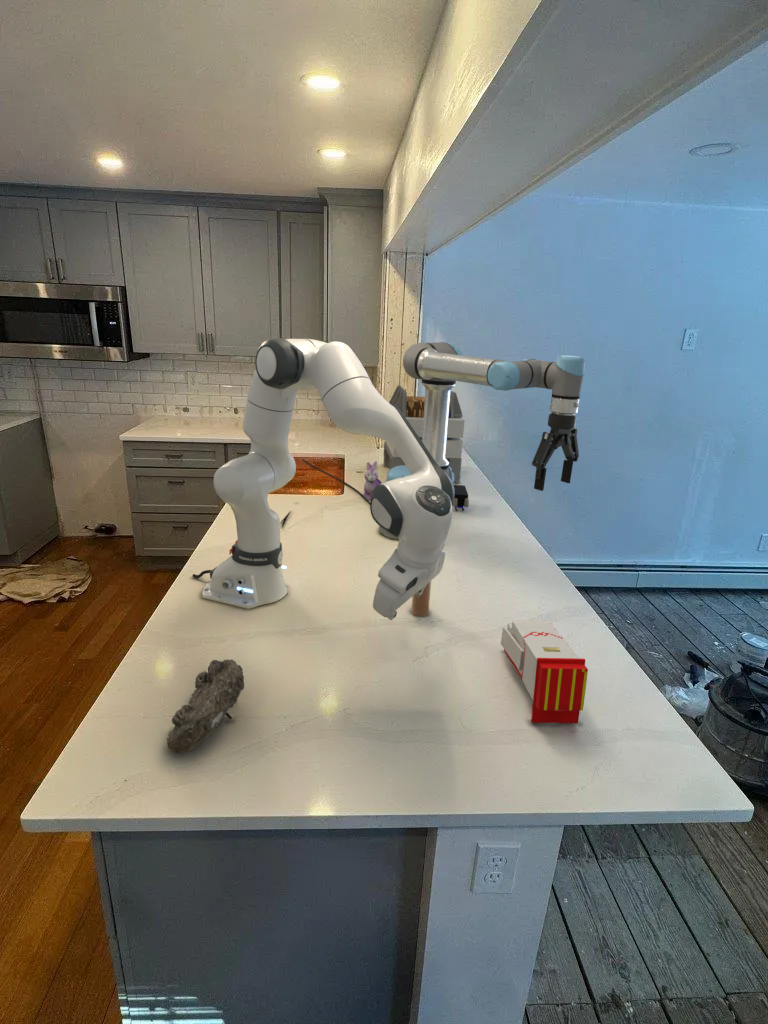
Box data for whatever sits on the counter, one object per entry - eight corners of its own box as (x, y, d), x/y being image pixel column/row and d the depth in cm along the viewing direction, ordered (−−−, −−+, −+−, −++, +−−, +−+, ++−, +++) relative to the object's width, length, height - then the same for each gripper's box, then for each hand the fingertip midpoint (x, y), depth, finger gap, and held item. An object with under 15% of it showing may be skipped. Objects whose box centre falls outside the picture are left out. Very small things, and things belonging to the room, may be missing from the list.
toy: (547, 606, 135) (596, 665, 106) (541, 658, 138) (589, 729, 108) (496, 604, 134) (532, 664, 105) (492, 657, 137) (526, 729, 108)
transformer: (382, 463, 289) (386, 382, 275) (445, 464, 293) (451, 384, 279) (390, 482, 257) (394, 392, 243) (460, 483, 261) (468, 394, 247)
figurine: (368, 501, 231) (369, 466, 226) (357, 494, 239) (358, 459, 234) (388, 499, 235) (390, 464, 230) (377, 492, 244) (378, 458, 239)
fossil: (192, 660, 117) (244, 628, 112) (224, 691, 120) (276, 661, 115) (142, 746, 98) (202, 712, 93) (182, 779, 101) (242, 748, 96)
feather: (297, 505, 227) (300, 501, 226) (281, 528, 200) (284, 524, 199) (293, 503, 226) (296, 499, 226) (277, 526, 200) (279, 522, 199)
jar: (415, 617, 146) (418, 564, 141) (408, 608, 150) (412, 556, 145) (431, 615, 148) (435, 562, 143) (424, 606, 152) (428, 555, 147)
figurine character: (468, 516, 224) (463, 500, 237) (471, 498, 221) (465, 483, 234) (452, 515, 224) (447, 499, 237) (453, 498, 220) (449, 482, 234)
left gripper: (433, 529, 122) (420, 574, 131) (373, 574, 108) (362, 621, 117) (457, 544, 119) (442, 589, 128) (398, 593, 106) (386, 639, 114)
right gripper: (548, 419, 148) (537, 496, 155) (598, 411, 163) (586, 482, 171) (525, 414, 153) (515, 489, 160) (575, 407, 169) (564, 476, 176)
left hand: (404, 605), depth 122 cm, fingers open, 8 cm apart
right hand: (552, 485), depth 166 cm, fingers open, 13 cm apart
